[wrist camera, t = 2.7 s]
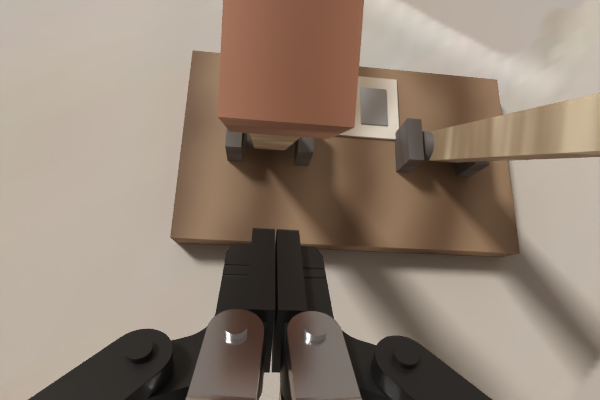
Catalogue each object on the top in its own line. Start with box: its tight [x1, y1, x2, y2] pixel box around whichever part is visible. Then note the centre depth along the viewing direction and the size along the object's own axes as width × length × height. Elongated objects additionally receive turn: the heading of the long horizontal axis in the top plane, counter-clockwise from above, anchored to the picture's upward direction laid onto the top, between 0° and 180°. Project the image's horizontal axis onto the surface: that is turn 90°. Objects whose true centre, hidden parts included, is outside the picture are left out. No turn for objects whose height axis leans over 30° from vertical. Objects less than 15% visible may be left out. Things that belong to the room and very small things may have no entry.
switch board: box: [170, 51, 520, 257], centre depth 27 cm, size 24×14×4 cm, turn 88°
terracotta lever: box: [218, 0, 364, 151], centre depth 17 cm, size 3×3×19 cm
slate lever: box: [422, 93, 600, 163], centre depth 18 cm, size 3×3×19 cm
